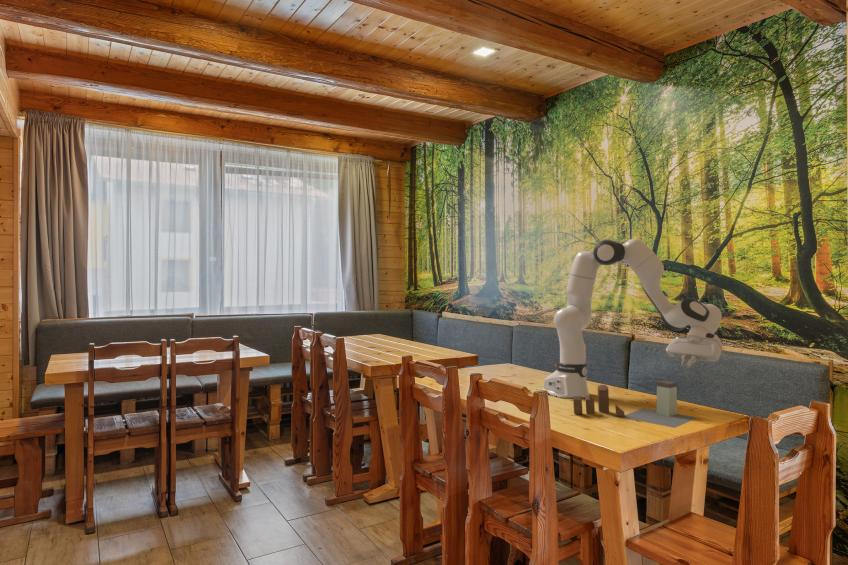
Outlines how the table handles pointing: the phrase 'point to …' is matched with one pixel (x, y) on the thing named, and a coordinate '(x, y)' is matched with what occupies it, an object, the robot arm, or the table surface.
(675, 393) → the sage block
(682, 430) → the table surface
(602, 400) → the wooden block set
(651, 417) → the slate mat
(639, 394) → the table surface
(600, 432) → the table surface
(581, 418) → the table surface
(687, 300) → the robot arm
